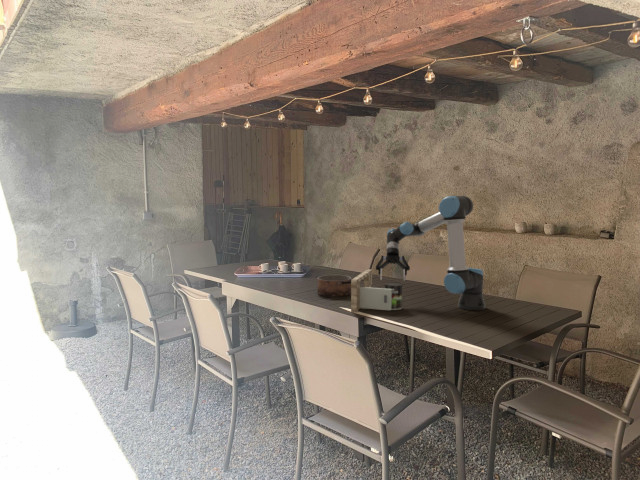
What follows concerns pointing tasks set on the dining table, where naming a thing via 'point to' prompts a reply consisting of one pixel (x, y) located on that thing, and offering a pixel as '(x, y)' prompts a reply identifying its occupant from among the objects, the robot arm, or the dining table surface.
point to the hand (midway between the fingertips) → (392, 279)
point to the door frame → (356, 288)
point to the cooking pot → (334, 285)
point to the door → (375, 298)
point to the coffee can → (395, 294)
